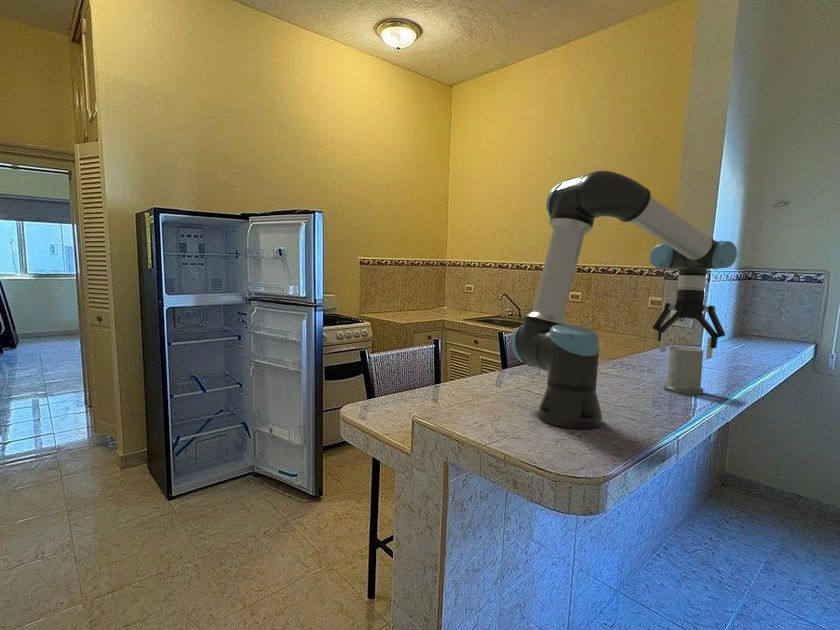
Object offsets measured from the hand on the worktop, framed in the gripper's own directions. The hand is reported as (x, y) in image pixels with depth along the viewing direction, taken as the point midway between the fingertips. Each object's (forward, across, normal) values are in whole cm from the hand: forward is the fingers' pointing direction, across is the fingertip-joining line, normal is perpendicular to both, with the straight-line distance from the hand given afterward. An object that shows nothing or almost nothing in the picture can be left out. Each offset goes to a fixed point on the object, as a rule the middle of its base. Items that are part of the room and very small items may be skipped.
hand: (684, 355), depth 141 cm
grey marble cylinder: (+10, 0, -1) cm, 11 cm away
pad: (+12, 0, -1) cm, 12 cm away
